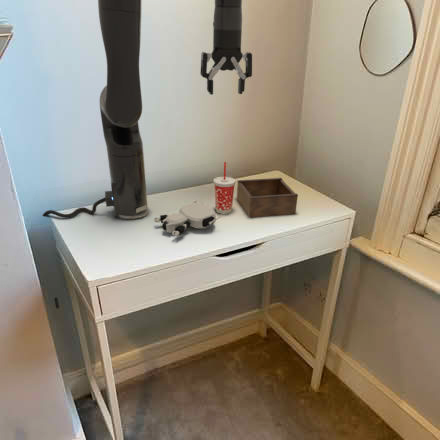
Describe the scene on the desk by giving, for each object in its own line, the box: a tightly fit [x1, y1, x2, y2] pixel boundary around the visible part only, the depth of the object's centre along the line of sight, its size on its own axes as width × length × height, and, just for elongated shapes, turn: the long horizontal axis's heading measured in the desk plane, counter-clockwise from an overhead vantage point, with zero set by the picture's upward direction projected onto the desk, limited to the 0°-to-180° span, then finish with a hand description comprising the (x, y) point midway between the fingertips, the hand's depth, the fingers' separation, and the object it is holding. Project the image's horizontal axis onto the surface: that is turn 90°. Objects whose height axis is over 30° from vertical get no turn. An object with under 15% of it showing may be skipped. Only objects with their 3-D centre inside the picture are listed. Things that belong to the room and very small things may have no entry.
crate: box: [236, 177, 299, 218], centre depth 127 cm, size 14×14×6 cm
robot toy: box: [153, 199, 223, 237], centre depth 115 cm, size 12×4×15 cm
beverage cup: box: [213, 161, 236, 215], centre depth 122 cm, size 6×6×14 cm
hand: (225, 93), depth 124 cm, fingers open, 8 cm apart
